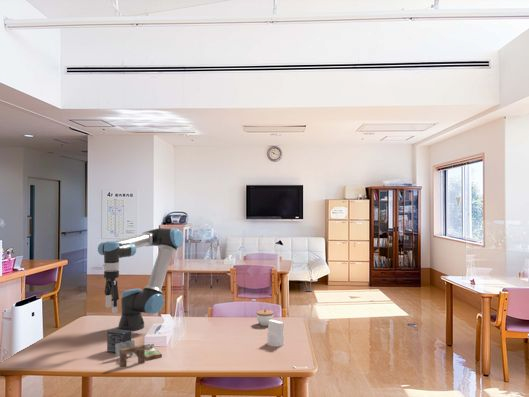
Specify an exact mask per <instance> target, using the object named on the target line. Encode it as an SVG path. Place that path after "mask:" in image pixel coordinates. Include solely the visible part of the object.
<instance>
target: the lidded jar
mask: <svg viewBox="0 0 529 397" xmlns="http://www.w3.org/2000/svg"><path fill="white" fill-rule="evenodd" d="M274 315H275V313H274V311H273V310H270V309H266V308H265V309H261V310H257V311H256V319H257V320H256V321H257V322H258V324H259V325H260V326H265V327H267V326H268V320H274Z"/></svg>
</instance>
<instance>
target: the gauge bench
mask: <svg viewBox="0 0 529 397" xmlns="http://www.w3.org/2000/svg"><path fill="white" fill-rule="evenodd" d="M145 345H151V344H150V343H147V344H140V345H136V346H134V347H129V348H124V349H120V356H119V367H120V368H121V369H122V368H126V367H127V363H128V360H127V359H128V358H127V355H129V354H128V353H133V352H135V353H137V363H138V364H139V365H140V364H145V362H146V361H150V360H155V359H160V358H162V357H163V354H162V353H161V352H160V351H159V350H157V349H156V348H155V347H154V346H152V348H150V347H145ZM133 354H134V353H133Z"/></svg>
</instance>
